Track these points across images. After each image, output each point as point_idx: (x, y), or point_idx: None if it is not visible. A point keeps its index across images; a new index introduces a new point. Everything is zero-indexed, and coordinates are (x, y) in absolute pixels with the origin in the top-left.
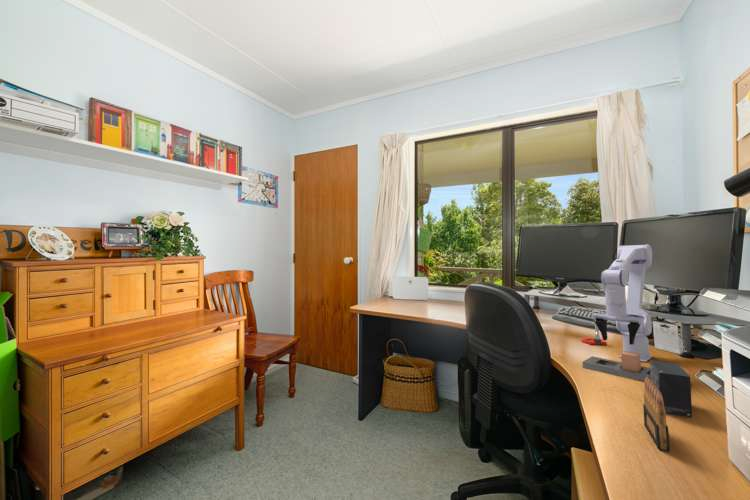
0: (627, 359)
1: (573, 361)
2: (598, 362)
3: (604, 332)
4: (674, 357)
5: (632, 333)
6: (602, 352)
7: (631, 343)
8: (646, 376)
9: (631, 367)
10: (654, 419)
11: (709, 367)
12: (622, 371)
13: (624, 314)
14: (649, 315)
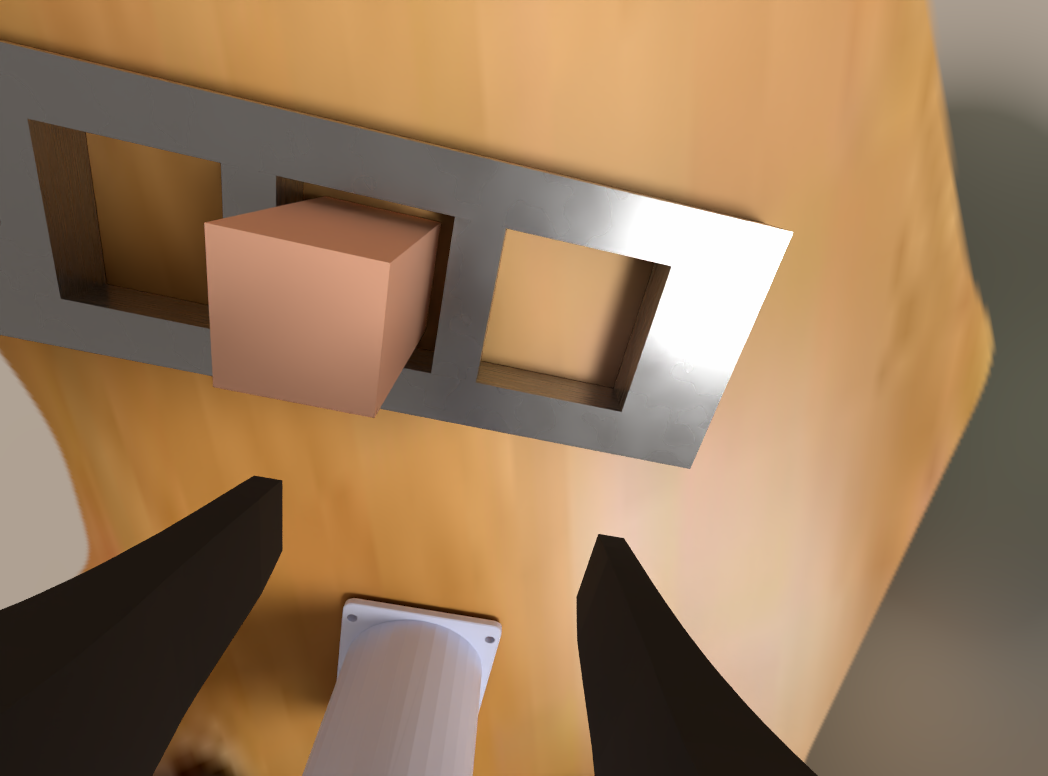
0: (343, 238)
1: (830, 367)
2: (636, 352)
3: (624, 655)
4: (245, 740)
5: (57, 598)
6: None
7: (246, 483)
8: (205, 93)
9: (337, 213)
10: None
11: None
12: (419, 143)
13: None
14: None
